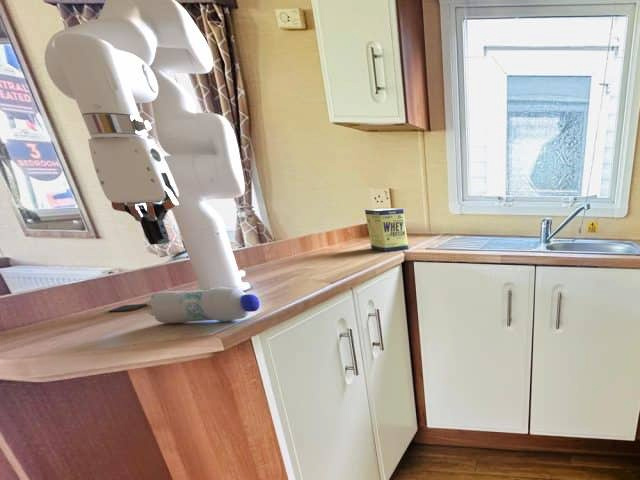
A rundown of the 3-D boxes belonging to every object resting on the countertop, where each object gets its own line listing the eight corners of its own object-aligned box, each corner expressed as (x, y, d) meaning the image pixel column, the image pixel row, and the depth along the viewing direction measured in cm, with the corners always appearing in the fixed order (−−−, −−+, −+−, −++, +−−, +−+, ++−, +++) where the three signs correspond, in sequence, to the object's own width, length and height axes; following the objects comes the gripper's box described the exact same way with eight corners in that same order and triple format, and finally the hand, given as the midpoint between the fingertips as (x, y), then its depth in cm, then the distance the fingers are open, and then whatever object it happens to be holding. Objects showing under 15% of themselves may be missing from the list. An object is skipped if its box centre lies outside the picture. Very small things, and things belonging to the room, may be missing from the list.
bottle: (173, 299, 87) (268, 294, 87) (169, 329, 86) (265, 324, 86) (145, 284, 81) (247, 278, 80) (139, 317, 79) (244, 311, 79)
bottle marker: (125, 306, 99) (124, 305, 99) (147, 305, 100) (147, 303, 100) (108, 312, 95) (108, 310, 95) (132, 310, 95) (131, 309, 95)
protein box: (385, 251, 170) (379, 210, 164) (370, 248, 181) (364, 209, 175) (409, 248, 176) (404, 208, 169) (393, 245, 187) (387, 208, 180)
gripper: (177, 131, 75) (212, 239, 83) (88, 134, 74) (133, 243, 82) (147, 125, 68) (189, 244, 76) (50, 128, 67) (102, 248, 75)
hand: (160, 243), depth 79 cm, fingers closed
